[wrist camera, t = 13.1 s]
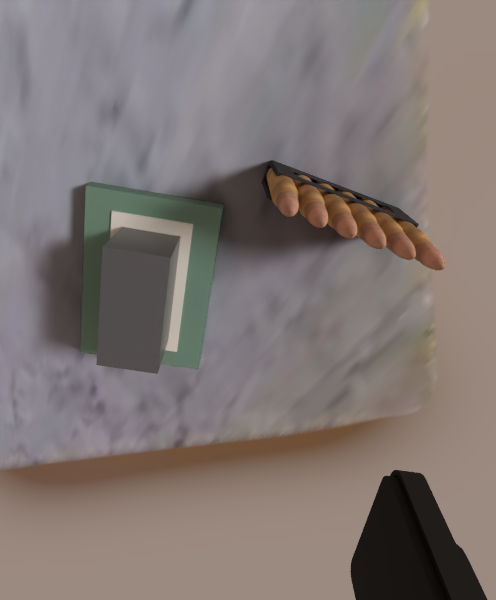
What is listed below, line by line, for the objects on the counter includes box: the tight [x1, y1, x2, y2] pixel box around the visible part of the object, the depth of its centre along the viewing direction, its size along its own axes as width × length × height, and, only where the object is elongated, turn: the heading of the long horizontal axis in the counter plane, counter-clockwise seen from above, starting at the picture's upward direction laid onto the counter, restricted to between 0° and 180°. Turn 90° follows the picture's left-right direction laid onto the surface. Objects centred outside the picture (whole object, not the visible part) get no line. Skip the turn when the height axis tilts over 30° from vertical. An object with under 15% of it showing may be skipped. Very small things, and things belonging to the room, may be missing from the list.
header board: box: [80, 182, 224, 369], centre depth 36 cm, size 14×10×5 cm
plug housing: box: [97, 227, 181, 374], centre depth 34 cm, size 9×4×5 cm, turn 170°
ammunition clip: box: [262, 161, 445, 270], centre depth 30 cm, size 11×2×12 cm, turn 70°
